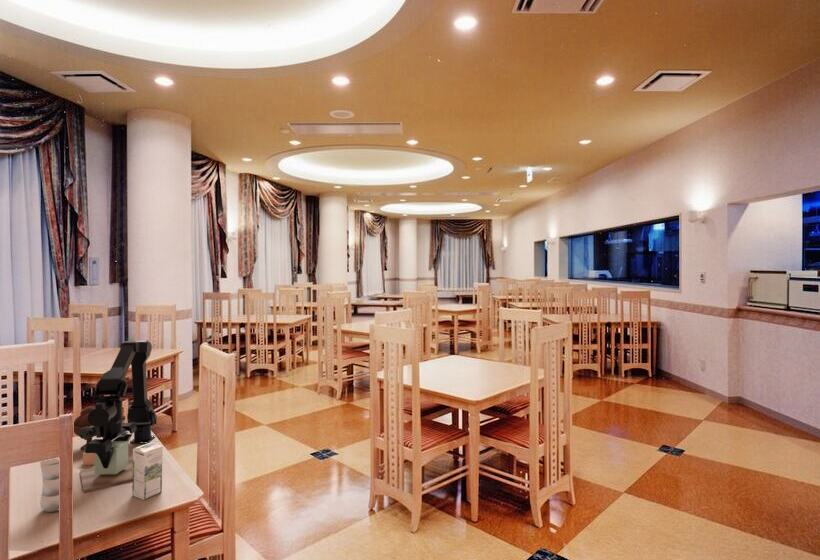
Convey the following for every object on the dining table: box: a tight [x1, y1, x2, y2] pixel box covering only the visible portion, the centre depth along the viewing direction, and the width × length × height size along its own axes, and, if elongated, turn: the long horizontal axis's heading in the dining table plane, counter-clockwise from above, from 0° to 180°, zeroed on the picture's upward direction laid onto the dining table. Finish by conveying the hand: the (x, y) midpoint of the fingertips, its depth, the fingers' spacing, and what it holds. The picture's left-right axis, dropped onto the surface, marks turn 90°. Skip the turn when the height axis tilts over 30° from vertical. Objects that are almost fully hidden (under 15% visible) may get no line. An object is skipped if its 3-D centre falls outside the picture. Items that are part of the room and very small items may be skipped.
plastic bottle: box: [39, 459, 59, 513], centre depth 128 cm, size 6×7×20 cm
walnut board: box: [79, 458, 133, 493], centre depth 149 cm, size 16×16×1 cm
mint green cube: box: [94, 441, 129, 474], centre depth 149 cm, size 7×7×8 cm
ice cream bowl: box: [73, 405, 95, 452], centre depth 169 cm, size 11×11×15 cm
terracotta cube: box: [82, 451, 95, 466], centre depth 158 cm, size 4×4×4 cm
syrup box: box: [131, 441, 164, 501], centre depth 138 cm, size 6×6×14 cm
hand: (112, 463), depth 149 cm, fingers closed on mint green cube, 6 cm apart
